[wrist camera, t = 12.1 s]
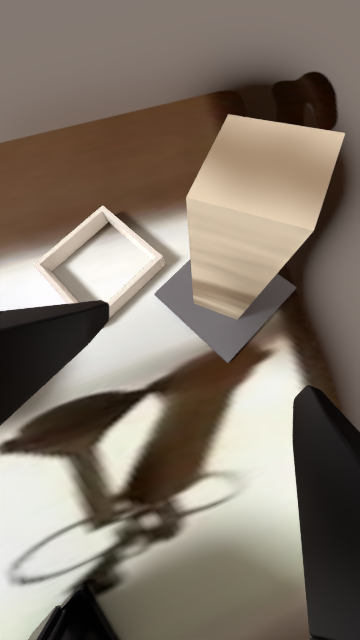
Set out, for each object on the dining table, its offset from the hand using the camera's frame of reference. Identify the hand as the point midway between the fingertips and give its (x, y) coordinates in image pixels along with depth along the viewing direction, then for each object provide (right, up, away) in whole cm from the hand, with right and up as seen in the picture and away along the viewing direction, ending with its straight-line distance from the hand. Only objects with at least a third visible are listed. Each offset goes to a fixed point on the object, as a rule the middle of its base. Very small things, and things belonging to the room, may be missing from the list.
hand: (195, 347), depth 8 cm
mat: (+4, +4, +13) cm, 14 cm away
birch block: (+4, +4, +12) cm, 14 cm away
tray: (-10, +8, +15) cm, 20 cm away
